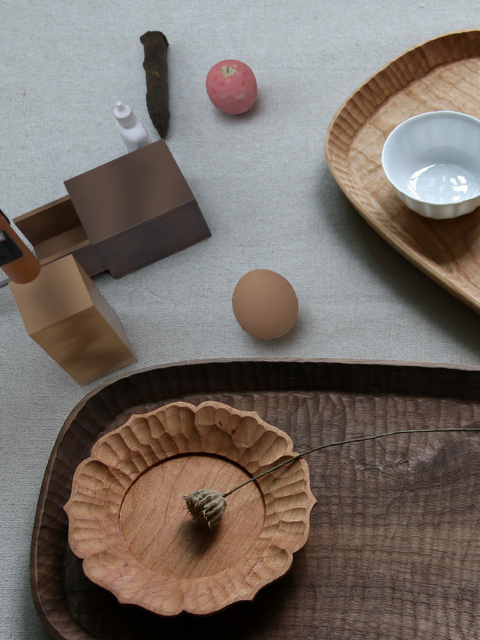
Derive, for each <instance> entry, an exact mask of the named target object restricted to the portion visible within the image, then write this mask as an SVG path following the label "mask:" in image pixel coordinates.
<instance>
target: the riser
mask: <svg viewBox="0 0 480 640" xmlns="http://www.w3.org/2000/svg"><path fill="white" fill-rule="evenodd" d="M8 284H9V285H8V287H9V289H10V292H11V295H12V297H13V300H14V302H15V305H16V307H17V310H18V312H19V315H20V316H21V321H22V322H23V325H24V327H25V330H26V333H27V335H28V337H30V338H31V339H32V340H33V341H34V342H35V343H36V344H37V345H38V346H39V347H40V348H41V349H42V350H43V351H44V352H45V353H46V354H47V355H48V356H49V357H50V358H51V359H52V360H53V361H54V362H55V363H56V364H57V365H58V366H59V367H60V368H61V369H63V370H64V371H65V373H67V375H69V376H70V378H72V379H73V380H74V382H76V383H77V384H78V386H80V388H83V387H85V386H87V385H89V384H91V383H94V382H96V381H98V380H100V379H102V378H104V377H106V376H108V375H110V374H112V373H115V372H117V371H119V370H121V369H123V368H126V367H127V366H129V365H133V363H136V362H138V361H139V360H138V357H137V355H136V353H135V351H134V348H133V346H132V343H131V341H130V339H129V336H128V334H127V332H126V331H125V327H124V326H123V324H122V322H121V319H120V316H119V314H118V313H117V312H116V311H115V309H114V308H113V307H112V305H111V304H110V302H109V301H108V300H107V299H106V298H105V296H104V295H103V294H102V292H101V290H100V289H99V288H98V287H97V285H96V284H95V282H94V281H93V280H92V279H91V277H89V276H88V275H87V274H86V272H85V271H84V270H83V268H82V267H81V266H80V264H79V263H78V262H77V261H76V259H75V258H74V257H73V255H72V254H70V255H68V256H66V257H64V258H61V259H59V260H57V261H55V262H52V263H50V264H48V265H46V266H44V267H41V271H40V274H39V275H38V277H37V278H36V279H35V280H33V281H32V282H30V283H27V284H17V283H14V282H13V281H10V282H8Z"/></svg>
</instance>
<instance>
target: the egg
mask: <svg viewBox="0 0 480 640" xmlns="http://www.w3.org/2000/svg"><path fill="white" fill-rule="evenodd" d="M231 296H232V297H231V306H232V312H233V316H234V317H235V318H234V319H235V321H236V322H237V324H238V325H239V326H240V327H241V329H242V330H243V331H244V332H246V333H247V334H248V335H249V336H251V337H253V338H256V339H258V340H264V341H269V340H270V341H271V340H276V339H279V338H282V337H283V336H285V335H286V334H288V333H289V332H290V331H291V330H292V328H293V327H294V326H295V324H296V322H297V319H298V316H299V313H300V309H299V308H300V307H299V305H300V304H299V299H298V296H297V292H296V290H295V289H294V287H293V286H292V284H291V282H290V281H288V279H287V278H285V277H284V276H283V275H282V274H281V273H278V272H276V271H275V270H271V269H266V268H256V269H253V270H250V271H248V272H247V273H245V274H243V276H241V277H240V279H239V280H238V281H237V282H236V285H235V286H234V289H233V293H232V295H231Z"/></svg>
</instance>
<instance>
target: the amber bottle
mask: <svg viewBox="0 0 480 640" xmlns="http://www.w3.org/2000/svg"><path fill="white" fill-rule="evenodd" d="M0 230H1V231H4V230H5V231H6V232H7V233H8V234H9V236H10V237H11V238H12V239H13V241H14V242H15V243H16V244H17V245H18V247H19V248H20V249H21V250H22V253H23V257H21V258H19V259H17V260H14V261H12V262H10V263H8V264H5V265H3V266H1V267H0V270H1V271H2V272H3V273H4V274H5V275H6V277H7V278H10V280H11V281H13V282H14V283H17V284H27V283H30V282H32V281H33V280H35V279H36V278H37V277H38V275H39V274H40V271H41V264H40V262H39V260H38V258H37V256H35V255H34V253H33V252H32V250H30V248H29V247H28V245H27V244H26V242H25V241H23V240H22V238H21V237H20V236H19V234H18V233H17V231H16V230H14V228H13V227H12V226H11V225H9V223H8V222H7V221H6V220H5V218H4V217H3V216H2V215H1V213H0Z"/></svg>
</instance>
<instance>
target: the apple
mask: <svg viewBox="0 0 480 640" xmlns="http://www.w3.org/2000/svg"><path fill="white" fill-rule="evenodd" d="M205 90H206V94H207V96H208V99H209V101H210V102H211V103H212V105H214V107H216V108H217V109H218V110H220V111H221V112H223V113H226V114H228V115H240V114H243V113H246V112H247V111H248V110H250V109H251V108H252V106H253V105H254V103H255V102H256V98H257V94H258V83H257V79H256V76H255V74H254V71H253V70H252V68H251V67H250V66H249V65H248V64H247V63H246V62H243V61H241V60H238V59H232V58H231V59H229V58H228V59H223V60H220V61H218V62H217V63H215V64H214V65H213V66H211V68H210V70H209V71H207V75H206V77H205Z"/></svg>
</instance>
